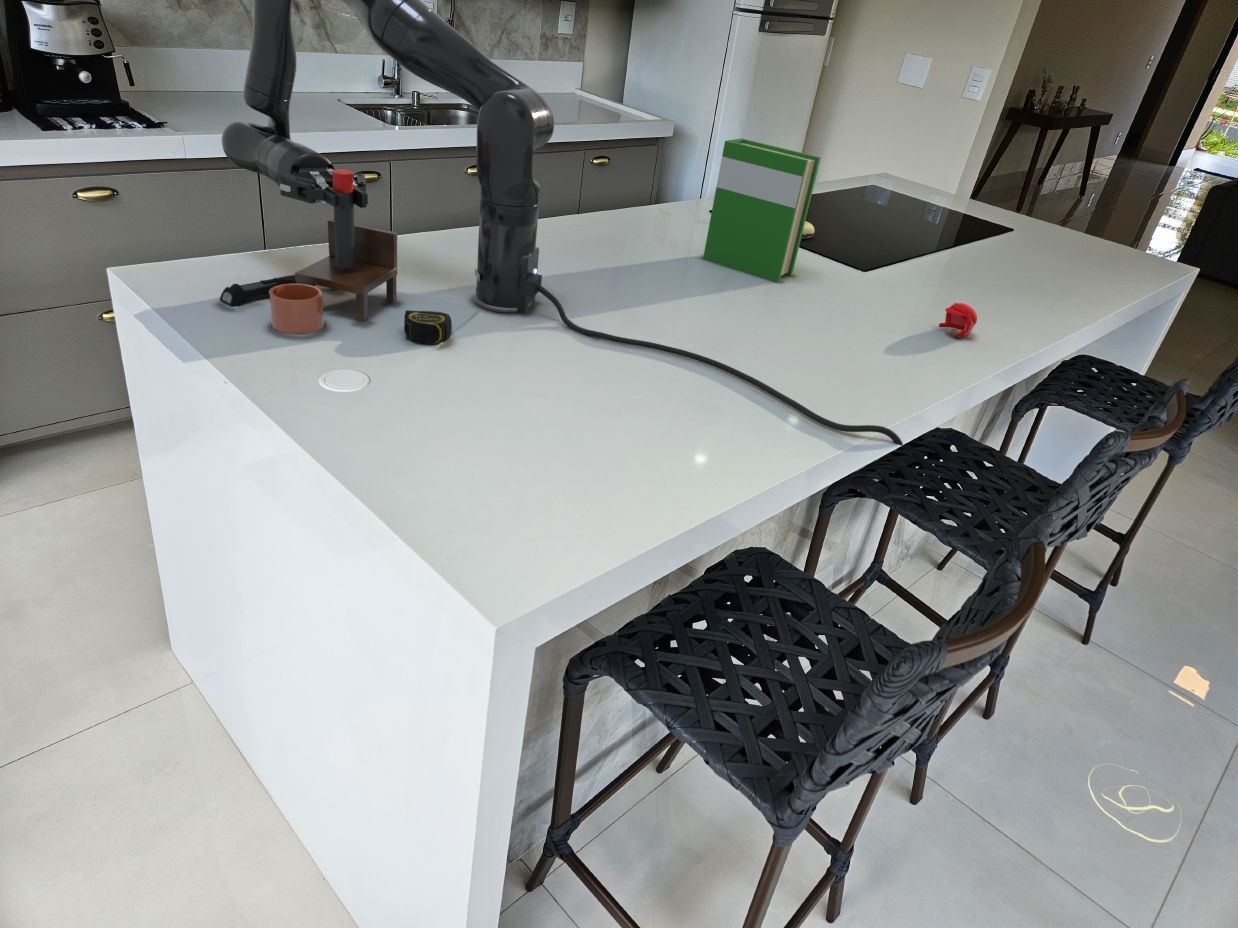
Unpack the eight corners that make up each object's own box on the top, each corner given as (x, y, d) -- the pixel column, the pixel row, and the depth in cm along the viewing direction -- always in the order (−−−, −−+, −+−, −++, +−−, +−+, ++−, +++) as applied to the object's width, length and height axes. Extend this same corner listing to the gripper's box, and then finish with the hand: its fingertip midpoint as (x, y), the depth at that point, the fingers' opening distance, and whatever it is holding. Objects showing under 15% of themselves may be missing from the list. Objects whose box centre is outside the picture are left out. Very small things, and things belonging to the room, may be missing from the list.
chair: (397, 303, 134) (397, 232, 129) (364, 326, 125) (362, 250, 119) (334, 290, 136) (331, 219, 130) (296, 311, 126) (291, 236, 121)
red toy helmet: (946, 324, 162) (956, 294, 159) (976, 334, 159) (987, 304, 156) (929, 332, 157) (940, 301, 154) (960, 343, 154) (971, 312, 151)
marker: (358, 264, 128) (356, 172, 121) (349, 270, 125) (346, 175, 118) (341, 261, 128) (338, 168, 121) (332, 266, 126) (328, 171, 119)
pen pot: (333, 325, 124) (331, 289, 121) (307, 341, 118) (304, 304, 115) (289, 315, 125) (287, 280, 122) (261, 331, 119) (258, 294, 116)
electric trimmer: (323, 293, 135) (322, 274, 133) (232, 311, 123) (230, 290, 122) (309, 286, 136) (308, 267, 135) (218, 303, 125) (216, 282, 124)
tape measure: (450, 332, 127) (451, 309, 125) (451, 350, 122) (452, 326, 120) (404, 330, 126) (404, 306, 124) (402, 348, 120) (402, 323, 118)
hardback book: (792, 275, 177) (820, 157, 165) (777, 282, 171) (806, 160, 159) (719, 252, 184) (741, 138, 172) (702, 258, 179) (724, 141, 167)
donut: (772, 236, 212) (773, 239, 203) (773, 217, 210) (774, 220, 201) (812, 236, 210) (815, 240, 202) (813, 217, 209) (816, 220, 200)
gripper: (252, 147, 124) (304, 176, 113) (342, 145, 133) (397, 172, 122) (257, 198, 128) (307, 231, 117) (343, 193, 136) (397, 224, 126)
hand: (353, 201), depth 120 cm, fingers closed on marker, 3 cm apart
